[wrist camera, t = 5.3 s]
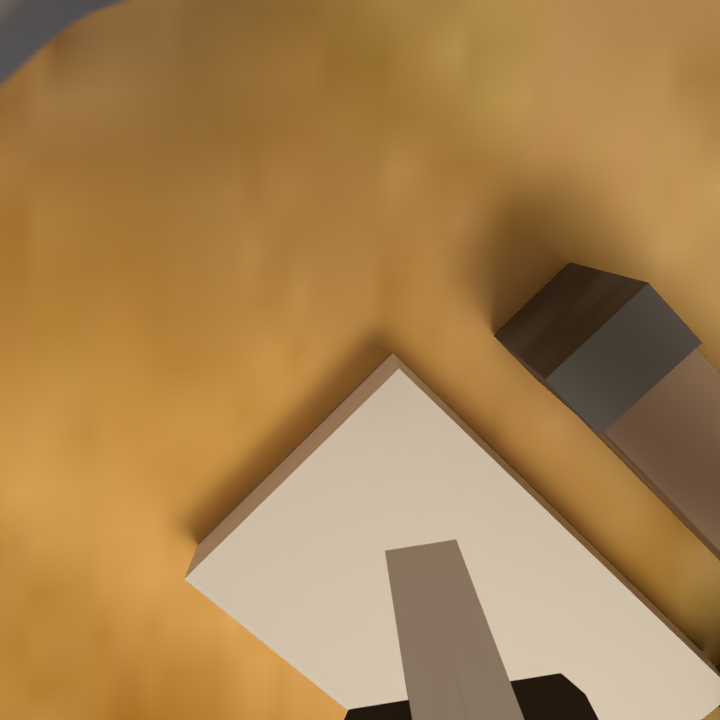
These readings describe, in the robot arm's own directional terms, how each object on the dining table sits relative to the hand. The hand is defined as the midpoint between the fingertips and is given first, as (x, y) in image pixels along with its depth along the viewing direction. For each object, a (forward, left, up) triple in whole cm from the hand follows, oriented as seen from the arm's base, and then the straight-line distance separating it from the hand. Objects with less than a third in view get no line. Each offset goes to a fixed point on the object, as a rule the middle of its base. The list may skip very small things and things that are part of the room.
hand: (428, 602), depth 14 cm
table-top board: (+3, +8, -12) cm, 15 cm away
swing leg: (-7, +9, -12) cm, 16 cm away
